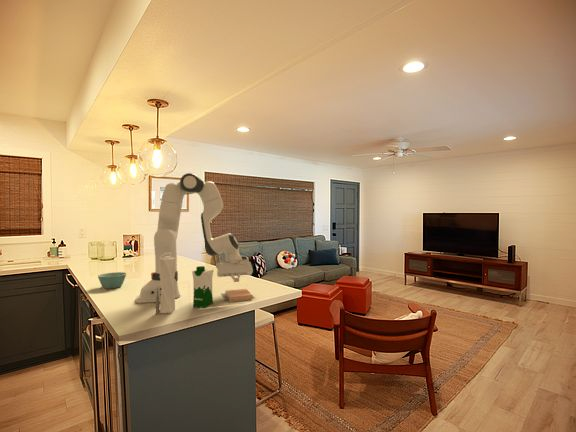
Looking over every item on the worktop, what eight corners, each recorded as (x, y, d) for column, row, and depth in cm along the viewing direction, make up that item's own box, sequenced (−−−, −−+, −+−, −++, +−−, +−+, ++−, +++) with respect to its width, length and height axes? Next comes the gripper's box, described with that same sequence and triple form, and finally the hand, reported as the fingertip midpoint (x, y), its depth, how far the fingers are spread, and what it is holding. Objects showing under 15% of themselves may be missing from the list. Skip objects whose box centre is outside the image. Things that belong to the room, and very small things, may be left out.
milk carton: (190, 307, 149) (190, 267, 148) (201, 302, 157) (201, 264, 157) (205, 309, 146) (205, 268, 146) (215, 303, 154) (215, 265, 154)
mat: (225, 302, 156) (225, 301, 156) (220, 294, 171) (220, 293, 171) (254, 299, 162) (254, 298, 162) (248, 292, 177) (248, 291, 177)
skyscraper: (161, 309, 147) (160, 252, 146) (178, 309, 147) (177, 252, 147) (154, 315, 138) (154, 254, 138) (172, 314, 139) (172, 254, 139)
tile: (225, 295, 169) (229, 301, 156) (225, 290, 169) (229, 297, 156) (246, 292, 173) (251, 299, 160) (246, 288, 173) (251, 294, 160)
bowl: (105, 284, 197) (105, 272, 197) (130, 284, 199) (130, 271, 198) (92, 290, 181) (92, 277, 181) (120, 290, 183) (119, 276, 183)
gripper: (215, 259, 171) (218, 279, 162) (251, 257, 178) (255, 276, 169) (215, 265, 176) (217, 285, 166) (249, 263, 183) (253, 282, 174)
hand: (236, 281), depth 168 cm, fingers closed
